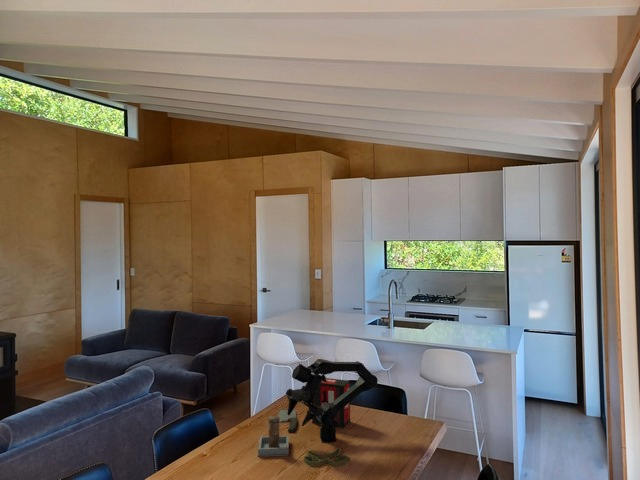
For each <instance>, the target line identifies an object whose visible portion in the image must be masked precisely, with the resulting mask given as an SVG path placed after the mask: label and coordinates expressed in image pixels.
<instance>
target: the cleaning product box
mask: <svg viewBox="0 0 640 480" xmlns="http://www.w3.org/2000/svg"><path fill="white" fill-rule="evenodd" d="M326 380H327V382H324V381H322V382H321V384H320V386H319V388H318V390H317V392H318V394H317V395H316V394H315V396H314V398H313V400H312V401H314V402H313V404H314V405H317V406H321V405H323V403H325V402H326V403H328V404H330V403H332V402H334V401H335V400H336V399H337V398H338V397H340V396H341V395H342V394H343V393H345V392H346V391H347V390H348V389H350V388H351V380H348V379H338V378H331V377H330V378H329V377H326ZM334 420H335V421H336V422H337V423H338V425H337V428H339V429H345V428H346V427H347V426H348V425H349V424H350V422H351V402H350V403H348V404H347V405H346V406H345V407H344V408H342V409H341V410H340V411H339V412H338V414H337V416H336V418H335V419H334ZM311 424H314V425H320V426H321V424H322V423H320V421H319V420H318V419H317V417H316V416H315V417H314V418H313V419H311Z"/></svg>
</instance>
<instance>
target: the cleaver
mask: <svg viewBox="0 0 640 480" xmlns="http://www.w3.org/2000/svg"><path fill="white" fill-rule="evenodd" d="M287 414H288V409H280V410H279V412H278V414H277V416H278V417H279V423H289V425H288V428H287V432H288V433H295V432H296V430H297V426H298V417H297V412H296V409H295V408H294V409H293V411H292V412H291V414H290V415H287Z"/></svg>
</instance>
